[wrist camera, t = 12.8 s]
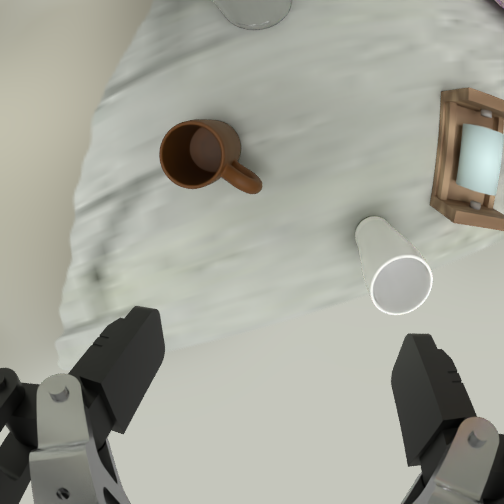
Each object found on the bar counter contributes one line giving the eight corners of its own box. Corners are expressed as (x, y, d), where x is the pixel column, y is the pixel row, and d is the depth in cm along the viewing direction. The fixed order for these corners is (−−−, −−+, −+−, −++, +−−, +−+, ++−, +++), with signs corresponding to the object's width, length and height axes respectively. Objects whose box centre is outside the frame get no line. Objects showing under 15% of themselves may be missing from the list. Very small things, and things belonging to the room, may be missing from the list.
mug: (282, 154, 39) (277, 163, 30) (253, 202, 42) (240, 224, 33) (203, 110, 38) (176, 107, 29) (177, 158, 41) (146, 169, 33)
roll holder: (440, 91, 32) (468, 87, 24) (496, 109, 30) (528, 110, 23) (429, 204, 38) (453, 222, 31) (483, 213, 37) (511, 232, 30)
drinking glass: (401, 216, 39) (443, 262, 26) (387, 260, 42) (418, 320, 29) (356, 204, 40) (382, 247, 26) (343, 250, 43) (360, 310, 29)
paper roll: (455, 120, 32) (477, 122, 27) (488, 131, 31) (512, 134, 26) (448, 182, 35) (469, 192, 30) (480, 189, 35) (503, 200, 29)
